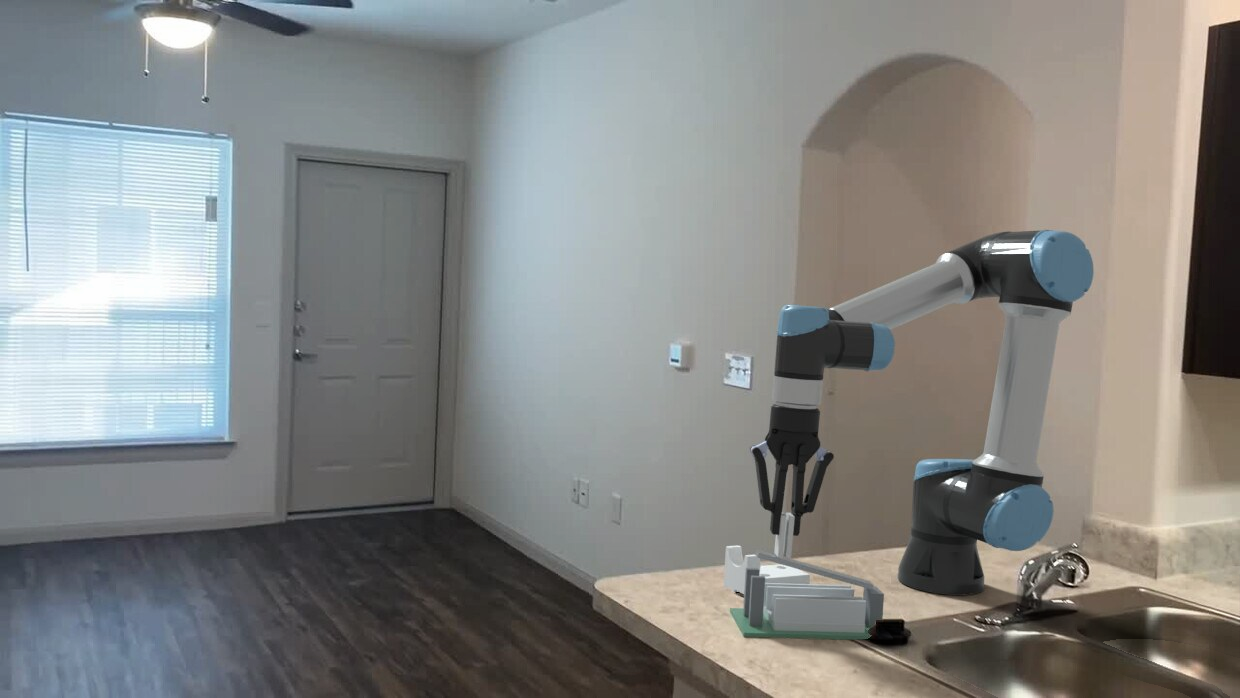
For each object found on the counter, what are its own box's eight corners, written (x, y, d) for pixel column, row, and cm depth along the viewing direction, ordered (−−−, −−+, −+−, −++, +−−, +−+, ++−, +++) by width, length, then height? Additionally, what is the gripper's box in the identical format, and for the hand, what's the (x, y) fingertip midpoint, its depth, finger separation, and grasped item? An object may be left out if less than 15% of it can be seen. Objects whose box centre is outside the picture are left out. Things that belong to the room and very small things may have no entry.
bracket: (745, 600, 180) (747, 556, 180) (723, 588, 187) (725, 546, 186) (808, 594, 186) (811, 551, 186) (785, 583, 192) (788, 541, 192)
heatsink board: (869, 615, 175) (872, 566, 174) (893, 640, 163) (896, 587, 162) (729, 611, 173) (732, 561, 172) (743, 636, 161) (746, 583, 161)
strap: (868, 585, 169) (869, 580, 169) (872, 589, 167) (874, 584, 167) (754, 553, 168) (756, 549, 168) (757, 557, 165) (759, 552, 165)
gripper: (832, 405, 170) (819, 551, 171) (747, 399, 169) (735, 546, 170) (845, 411, 162) (831, 564, 163) (757, 404, 161) (743, 559, 162)
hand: (782, 555), depth 167 cm, fingers closed
